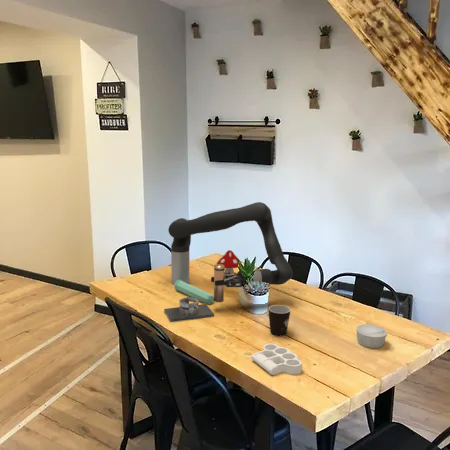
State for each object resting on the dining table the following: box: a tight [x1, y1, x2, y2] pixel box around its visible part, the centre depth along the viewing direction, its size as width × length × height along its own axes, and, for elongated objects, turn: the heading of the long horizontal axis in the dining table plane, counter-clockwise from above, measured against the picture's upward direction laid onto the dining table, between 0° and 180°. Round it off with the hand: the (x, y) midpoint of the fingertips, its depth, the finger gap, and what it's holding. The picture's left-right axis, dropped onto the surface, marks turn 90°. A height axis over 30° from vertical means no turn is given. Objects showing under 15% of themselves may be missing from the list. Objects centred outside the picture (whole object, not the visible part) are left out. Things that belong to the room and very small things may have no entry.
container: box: [173, 280, 215, 305], centre depth 226 cm, size 6×6×25 cm
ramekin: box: [355, 323, 388, 349], centre depth 181 cm, size 11×11×5 cm
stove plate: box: [163, 296, 215, 323], centre depth 205 cm, size 12×19×6 cm, turn 110°
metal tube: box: [213, 263, 226, 303], centre depth 208 cm, size 5×5×16 cm
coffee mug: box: [268, 304, 292, 337], centre depth 188 cm, size 12×9×10 cm
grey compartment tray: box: [250, 343, 303, 376], centre depth 165 cm, size 3×18×15 cm
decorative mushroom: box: [216, 249, 243, 274], centre depth 254 cm, size 14×14×15 cm
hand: (213, 281), depth 207 cm, fingers closed on metal tube, 4 cm apart
